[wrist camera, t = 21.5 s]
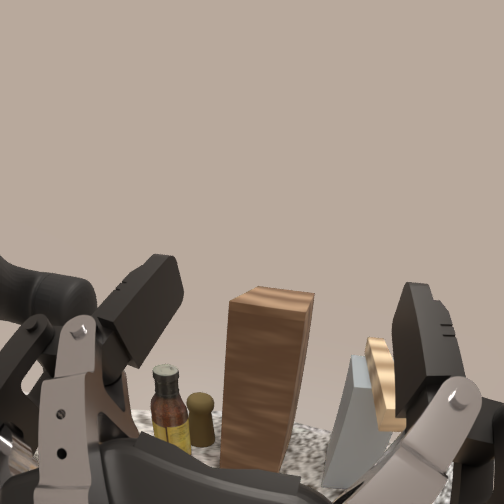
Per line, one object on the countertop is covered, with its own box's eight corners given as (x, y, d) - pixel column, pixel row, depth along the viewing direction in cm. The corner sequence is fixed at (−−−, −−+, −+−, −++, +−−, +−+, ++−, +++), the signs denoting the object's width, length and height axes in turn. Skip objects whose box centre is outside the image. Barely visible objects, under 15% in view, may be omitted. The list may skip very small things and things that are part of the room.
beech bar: (364, 352, 46) (367, 337, 46) (380, 353, 45) (383, 338, 45) (378, 431, 23) (386, 409, 23) (404, 431, 22) (413, 409, 22)
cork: (201, 426, 52) (202, 385, 51) (221, 439, 48) (223, 398, 47) (179, 435, 47) (177, 393, 47) (198, 451, 43) (198, 408, 43)
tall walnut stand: (244, 429, 52) (258, 286, 50) (290, 439, 49) (314, 293, 48) (219, 469, 39) (229, 301, 37) (274, 483, 36) (305, 312, 34)
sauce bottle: (194, 450, 43) (193, 364, 42) (188, 471, 37) (184, 382, 36) (161, 444, 43) (155, 357, 42) (152, 463, 37) (141, 374, 36)
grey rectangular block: (327, 447, 46) (351, 355, 45) (364, 450, 44) (394, 358, 43) (321, 486, 35) (354, 386, 33) (365, 489, 32) (408, 390, 31)
